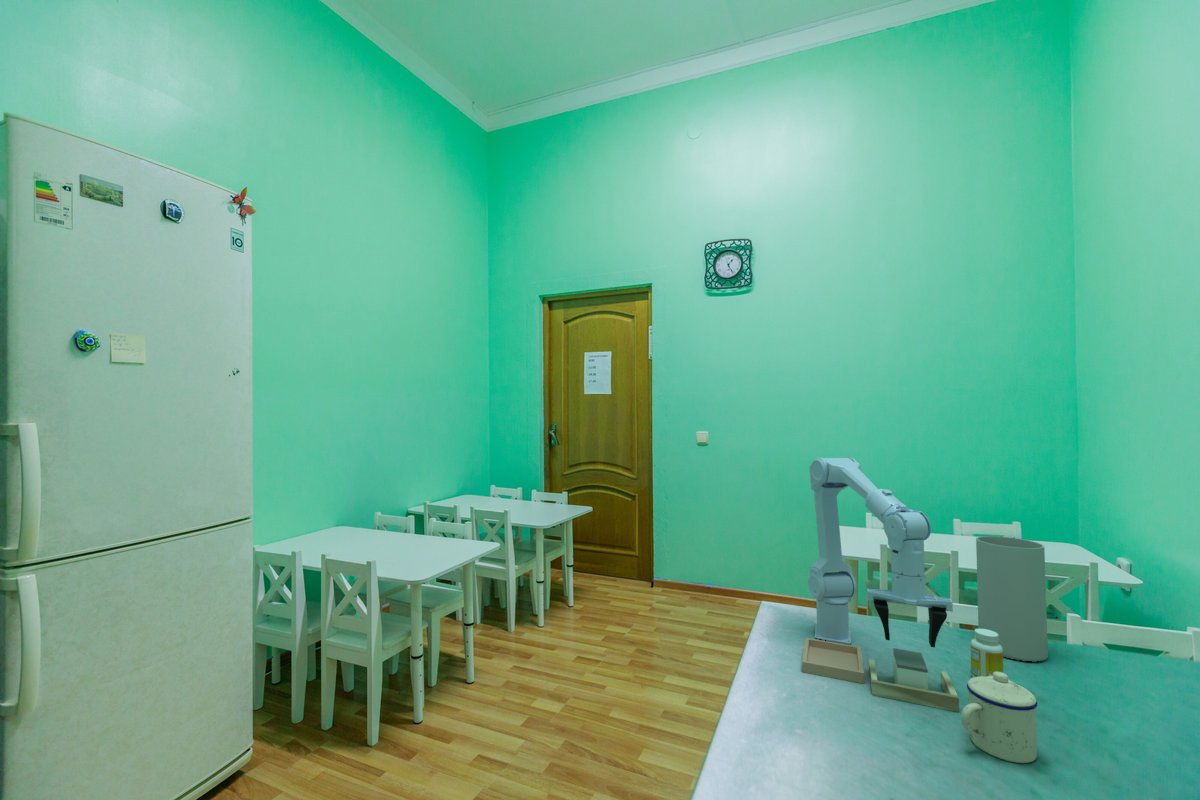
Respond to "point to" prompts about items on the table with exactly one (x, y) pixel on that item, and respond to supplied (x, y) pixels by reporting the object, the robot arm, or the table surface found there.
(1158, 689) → the table surface
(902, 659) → the grey-green upright block
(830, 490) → the robot arm
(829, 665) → the tray
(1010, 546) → the cylinder vase
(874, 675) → the bay
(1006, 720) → the teacup with lid
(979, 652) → the supplement bottle
